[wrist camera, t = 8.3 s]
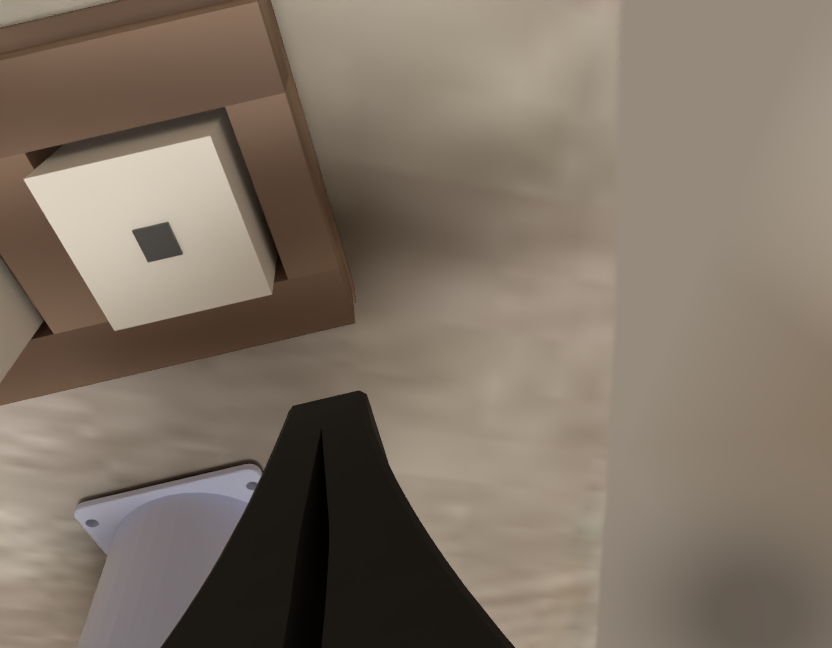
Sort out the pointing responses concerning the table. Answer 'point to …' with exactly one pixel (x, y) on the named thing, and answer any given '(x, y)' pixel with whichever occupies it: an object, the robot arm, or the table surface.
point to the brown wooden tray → (141, 105)
